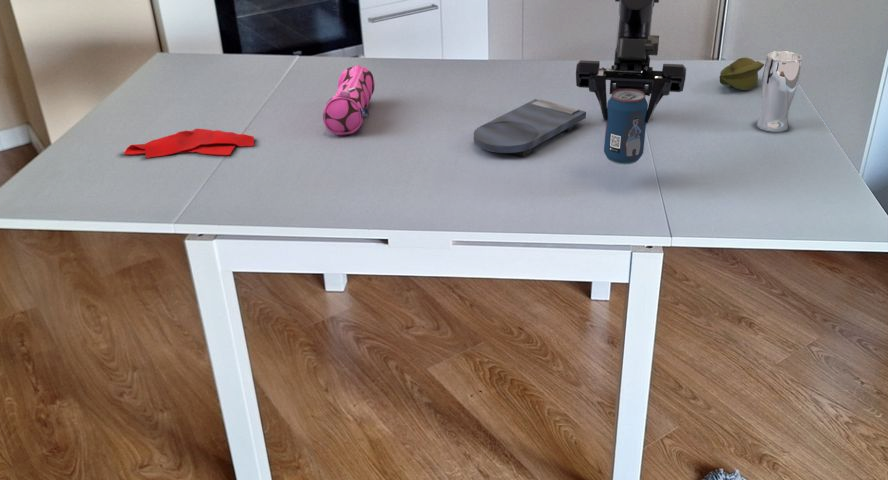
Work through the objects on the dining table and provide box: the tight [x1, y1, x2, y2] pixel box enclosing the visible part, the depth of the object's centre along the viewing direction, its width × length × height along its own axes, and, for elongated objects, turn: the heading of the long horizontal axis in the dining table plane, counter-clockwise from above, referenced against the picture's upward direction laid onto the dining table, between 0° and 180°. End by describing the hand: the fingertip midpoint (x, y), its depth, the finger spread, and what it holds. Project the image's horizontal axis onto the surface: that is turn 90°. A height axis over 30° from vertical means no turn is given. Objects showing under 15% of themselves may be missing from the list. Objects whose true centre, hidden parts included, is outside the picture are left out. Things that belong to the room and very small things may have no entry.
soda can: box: [603, 89, 649, 165], centre depth 159 cm, size 7×7×12 cm
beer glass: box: [756, 50, 803, 133], centre depth 183 cm, size 7×7×15 cm
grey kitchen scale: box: [473, 98, 587, 157], centre depth 185 cm, size 26×13×3 cm, turn 140°
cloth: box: [123, 128, 255, 159], centre depth 187 cm, size 26×14×2 cm, turn 89°
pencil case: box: [322, 64, 375, 136], centre depth 195 cm, size 21×10×10 cm, turn 178°
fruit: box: [719, 57, 765, 91], centre depth 207 cm, size 11×12×7 cm
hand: (625, 121), depth 157 cm, fingers closed on soda can, 7 cm apart
